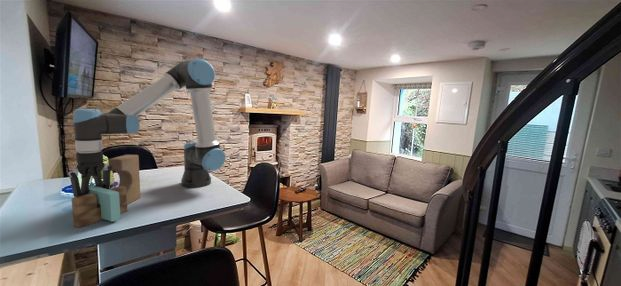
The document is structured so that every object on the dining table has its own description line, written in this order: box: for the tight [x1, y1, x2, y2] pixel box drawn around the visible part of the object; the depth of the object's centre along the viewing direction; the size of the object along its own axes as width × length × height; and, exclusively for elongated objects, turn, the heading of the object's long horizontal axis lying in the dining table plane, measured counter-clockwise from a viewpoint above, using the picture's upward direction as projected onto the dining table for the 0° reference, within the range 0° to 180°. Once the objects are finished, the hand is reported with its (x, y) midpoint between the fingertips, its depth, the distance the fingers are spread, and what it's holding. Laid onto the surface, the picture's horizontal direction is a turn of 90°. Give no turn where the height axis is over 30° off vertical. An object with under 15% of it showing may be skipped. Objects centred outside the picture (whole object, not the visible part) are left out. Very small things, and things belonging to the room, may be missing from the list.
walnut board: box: [71, 185, 128, 229], centre depth 95 cm, size 16×3×10 cm, turn 158°
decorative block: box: [107, 154, 141, 206], centre depth 110 cm, size 11×6×20 cm, turn 179°
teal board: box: [88, 184, 121, 222], centre depth 95 cm, size 16×3×10 cm, turn 68°
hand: (94, 212), depth 97 cm, fingers closed on teal board, 3 cm apart
